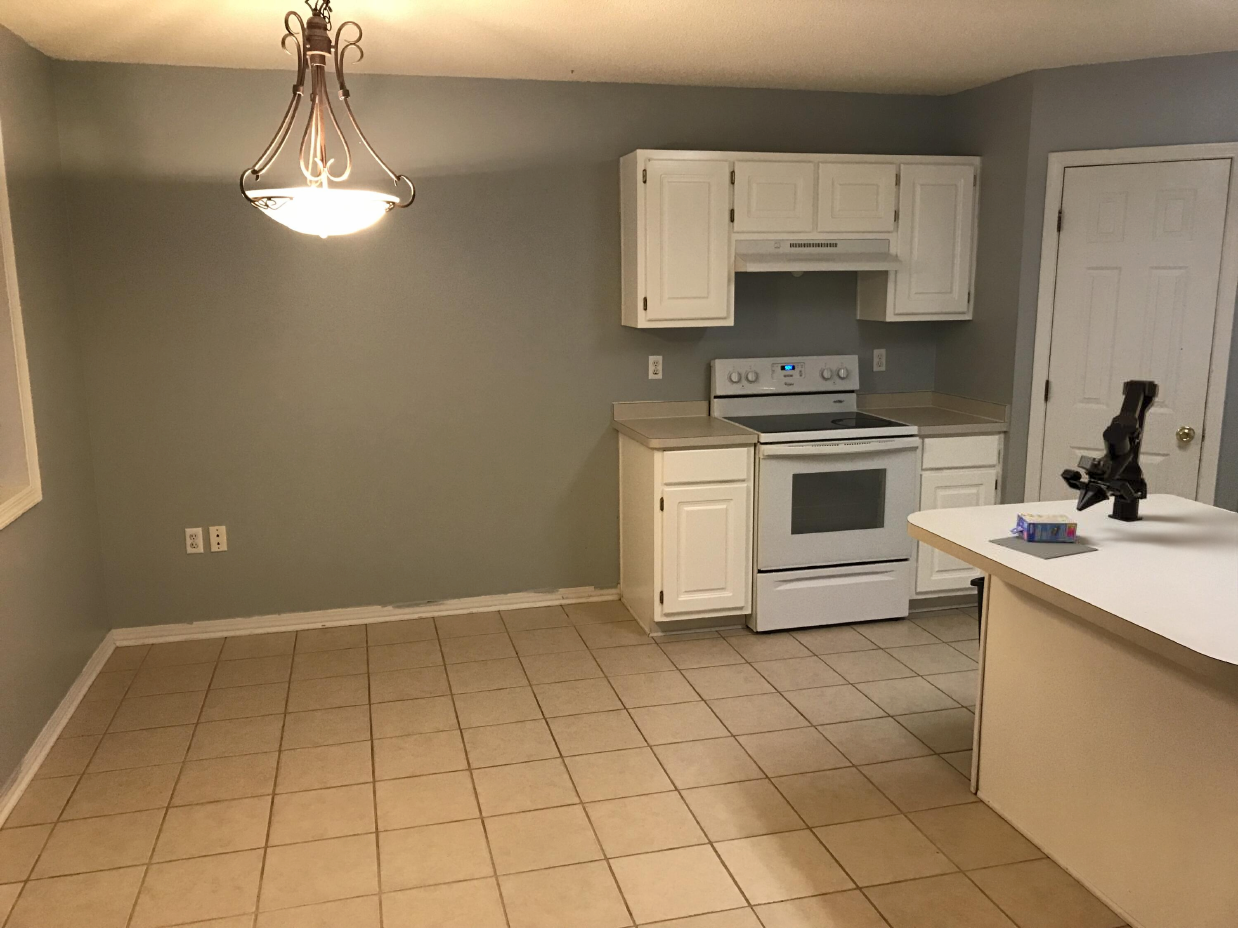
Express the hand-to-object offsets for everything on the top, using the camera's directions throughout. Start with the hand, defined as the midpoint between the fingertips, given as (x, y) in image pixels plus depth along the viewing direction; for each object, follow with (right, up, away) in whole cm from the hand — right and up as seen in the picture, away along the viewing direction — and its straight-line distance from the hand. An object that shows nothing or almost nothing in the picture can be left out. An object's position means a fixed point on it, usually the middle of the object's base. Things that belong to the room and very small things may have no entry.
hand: (1078, 510), depth 253 cm
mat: (-11, -9, -4) cm, 14 cm away
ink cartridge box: (-1, -5, +1) cm, 5 cm away
